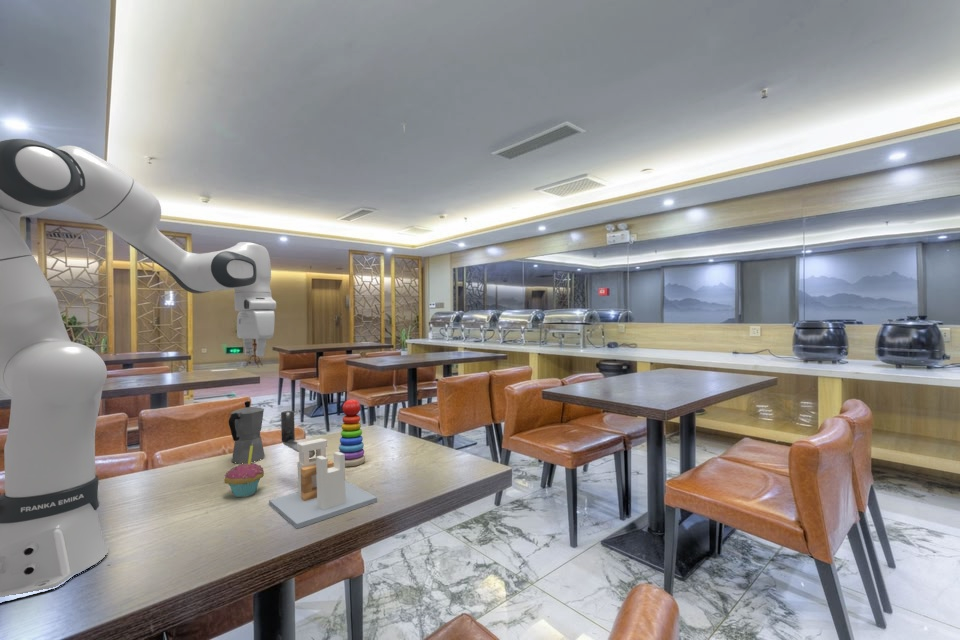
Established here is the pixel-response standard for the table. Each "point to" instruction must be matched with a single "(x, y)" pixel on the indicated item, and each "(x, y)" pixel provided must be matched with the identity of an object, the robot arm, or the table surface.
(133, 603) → the table surface
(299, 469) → the stand
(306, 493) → the collar
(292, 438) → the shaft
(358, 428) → the stacking toy
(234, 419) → the coffeepot
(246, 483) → the cupcake
